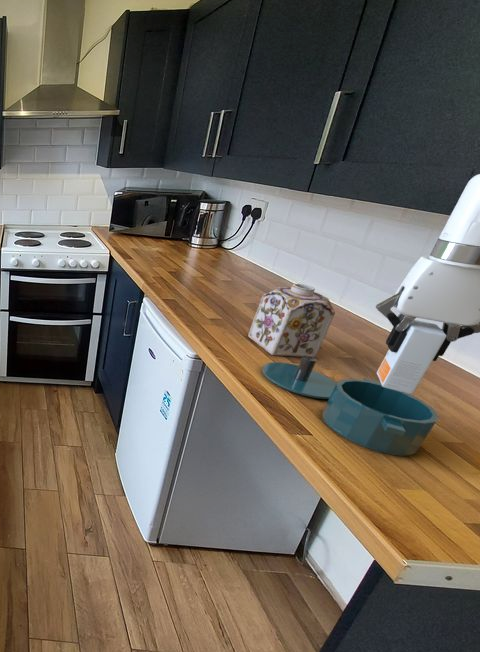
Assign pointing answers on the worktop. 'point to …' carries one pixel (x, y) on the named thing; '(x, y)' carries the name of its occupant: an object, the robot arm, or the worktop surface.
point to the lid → (300, 378)
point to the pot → (378, 417)
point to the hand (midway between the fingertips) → (410, 352)
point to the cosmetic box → (411, 357)
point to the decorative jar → (292, 321)
